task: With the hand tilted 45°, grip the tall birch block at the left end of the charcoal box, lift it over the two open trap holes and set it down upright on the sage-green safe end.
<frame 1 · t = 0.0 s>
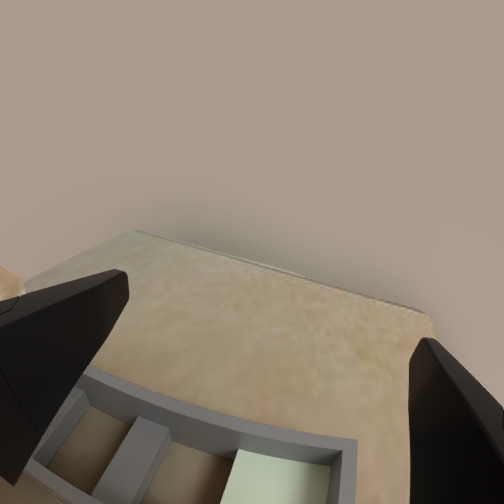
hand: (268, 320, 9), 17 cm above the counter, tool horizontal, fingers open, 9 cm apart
birch block: (26, 404, 17), point 2 cm above the counter, touching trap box
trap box: (138, 476, 16), on the counter
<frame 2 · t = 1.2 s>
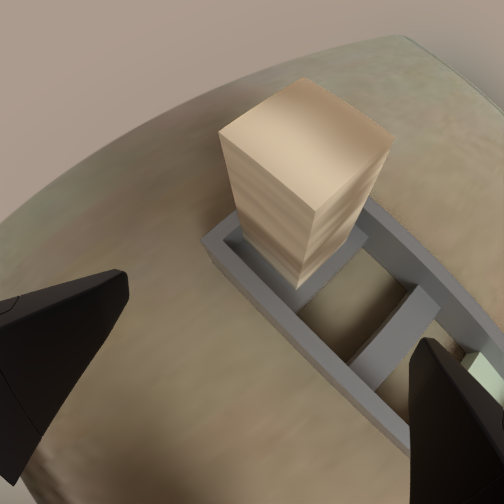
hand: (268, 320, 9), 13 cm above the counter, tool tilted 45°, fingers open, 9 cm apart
birch block: (295, 240, 22), point 2 cm above the counter, touching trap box
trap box: (389, 343, 20), on the counter
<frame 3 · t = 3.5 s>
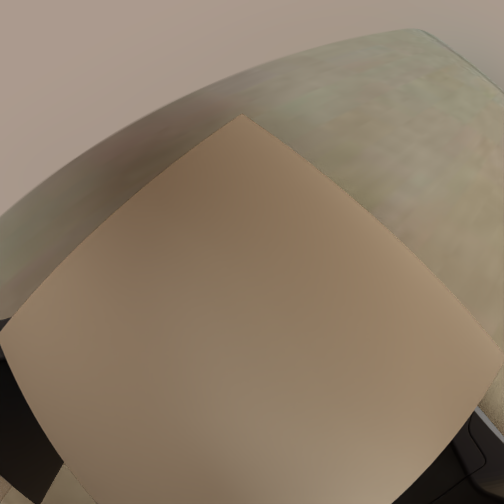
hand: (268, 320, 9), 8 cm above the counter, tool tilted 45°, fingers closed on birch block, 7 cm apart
birch block: (263, 367, 13), point 2 cm above the counter, touching gripper, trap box
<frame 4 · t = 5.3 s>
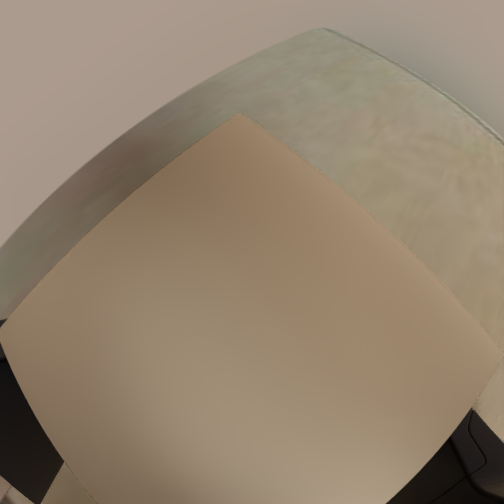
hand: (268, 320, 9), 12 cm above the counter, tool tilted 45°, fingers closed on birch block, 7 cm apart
birch block: (263, 367, 13), point 7 cm above the counter, touching gripper
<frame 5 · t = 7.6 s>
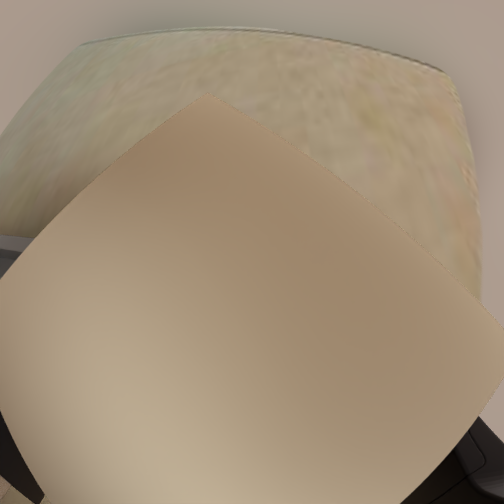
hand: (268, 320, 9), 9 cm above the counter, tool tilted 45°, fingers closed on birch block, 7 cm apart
birch block: (270, 376, 13), point 4 cm above the counter, touching gripper, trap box
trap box: (114, 344, 18), on the counter
when the fingers open (9 cm above the counter, at t = 7.7 s): birch block stays where it is, resting on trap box.
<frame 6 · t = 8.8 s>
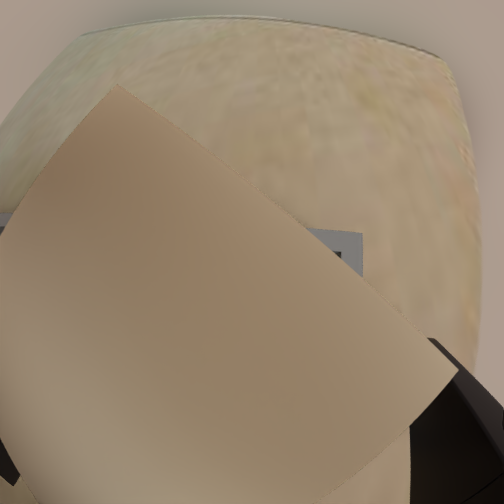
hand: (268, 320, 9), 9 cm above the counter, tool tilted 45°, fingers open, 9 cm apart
birch block: (274, 341, 13), point 4 cm above the counter, tilted 12°, touching gripper, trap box
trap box: (115, 320, 18), on the counter
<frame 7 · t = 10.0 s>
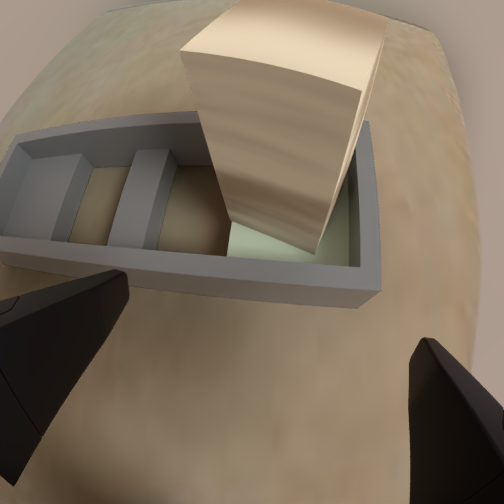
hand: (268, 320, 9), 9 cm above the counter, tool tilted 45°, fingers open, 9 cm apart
birch block: (289, 199, 18), point 2 cm above the counter, touching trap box
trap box: (151, 214, 20), on the counter
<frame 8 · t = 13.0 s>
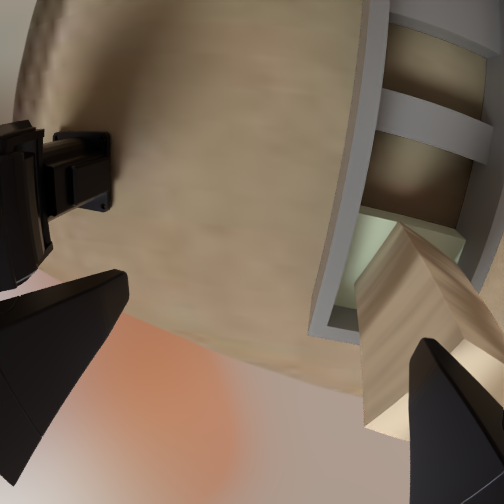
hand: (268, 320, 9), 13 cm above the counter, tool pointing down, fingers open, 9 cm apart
birch block: (405, 272, 18), point 2 cm above the counter, touching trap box
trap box: (425, 128, 16), on the counter
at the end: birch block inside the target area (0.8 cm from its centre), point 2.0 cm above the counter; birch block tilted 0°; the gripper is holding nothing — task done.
